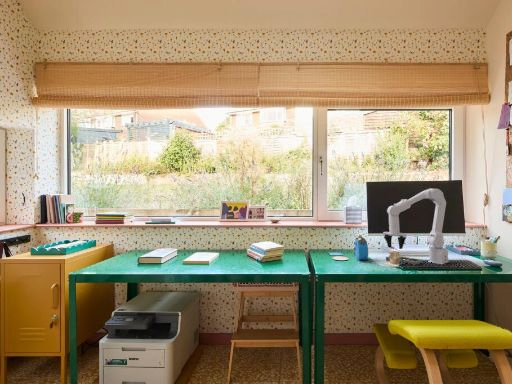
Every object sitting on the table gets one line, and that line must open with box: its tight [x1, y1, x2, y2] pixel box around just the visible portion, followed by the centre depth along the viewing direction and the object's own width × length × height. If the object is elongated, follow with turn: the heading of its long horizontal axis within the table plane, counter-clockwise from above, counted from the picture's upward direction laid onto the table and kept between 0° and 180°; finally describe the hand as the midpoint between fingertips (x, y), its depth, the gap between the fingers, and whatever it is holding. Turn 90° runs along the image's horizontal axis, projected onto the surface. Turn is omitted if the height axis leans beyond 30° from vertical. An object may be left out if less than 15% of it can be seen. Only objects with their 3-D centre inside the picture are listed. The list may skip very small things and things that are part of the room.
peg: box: [388, 250, 401, 265], centre depth 212 cm, size 4×4×7 cm
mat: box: [383, 261, 400, 268], centre depth 212 cm, size 9×9×1 cm
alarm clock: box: [354, 235, 369, 261], centre depth 229 cm, size 13×6×15 cm, turn 176°
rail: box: [385, 255, 424, 265], centre depth 217 cm, size 20×8×2 cm, turn 33°
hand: (395, 248), depth 214 cm, fingers open, 7 cm apart
